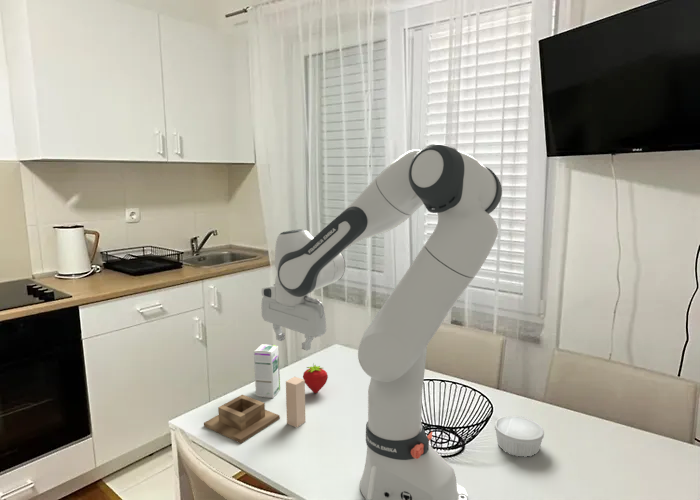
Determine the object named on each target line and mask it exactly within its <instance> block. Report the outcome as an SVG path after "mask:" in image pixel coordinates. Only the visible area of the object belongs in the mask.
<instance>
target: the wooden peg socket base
mask: <svg viewBox="0 0 700 500" xmlns="http://www.w3.org/2000/svg"><path fill="white" fill-rule="evenodd" d="M265 407H266V405H265V402H262V400H257V399H255V398H252V397H251V396H247V395H244V394H241V395H239V396H236V397H235V398H233V399H231V400H229V401H228V402H226V403H224V404H222V405H220V406H218V407H217V408H218V409H217V410H218V415H215V416H213V417H212V418H210V419H208V420H207V421H205V422H203V427H204V428H206V429H209V430H211V431H213V432H215V433H217V434H219V435H222V436H224V437H226V438H229V439H231V440H233V441H235V442H237V443H238V444H243V443H244V442H246V441H248V440H249V439H250V438H252V437H254V436H255V435H257V434H258V433H260V432H261V431H263V430H265V429H266V428H267V427H270V426H271V425H272V424H273V423H276V422H277V421H279V420H280V418H281V416H280V414H277V413H275V412H272V411H270V410H267V409H266V408H265Z"/></svg>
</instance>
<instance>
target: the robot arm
mask: <svg viewBox="0 0 700 500" xmlns="http://www.w3.org/2000/svg"><path fill="white" fill-rule="evenodd" d="M502 189H503V188H502V184H501V181H500V179H499V177H498V175H496V173H495V172H493V170H492V169H491V168H489V167H487V166H485V165H484V164H482V162H480V161H478V160H477V159H476V158H475V157H473V156H472V155H469V154H467V153H466V152H464V151H460V150H457V148H455V147H453V146H451V145H447V144H441V143H435V144H429V145H426V146H424V147H422V148H421V149H411V150H408V151H407V152H405V153H404V154H402V155H400V156H399V157H398V158H397V159H395V160H394V161H393V162H391V163H390V164H389V165H388V166H386V168H385V169H383V170H382V171H381V172H380V173H379V174H378V175H377V176H376V177H375V178H374V179H373V180H372V181H371V182H370V183H369V184H368V186H367V187H366V188H364V189H363V191H362V192H361V193H360V194H359V195H358V196H357V197H356V198H355V199H354V200H353V201H352V202H350V204H349V205H348V206H347V207H346V208H345V209H344V210H342V212H341V213H340V214H339V215H338V216H337V217H335V218H334V219H333V220H332V221H331V222H330V223H328V224H327V226H325V227H324V228H323V229H322V230H321V231H320V232H318V233H317V234H316V235H315V236H313V235H312V234H311V233H310V232H309V230H306V229H303V228H302V229H293V230H292V229H291V230H287V231H283V232H280V234H278V236H277V238H276V240H275V241H276V243H275V248H274V250H275V251H274V266H275V270H276V276H275V279H274V283H275V284H272V285H267V286H265V287H263V288H261V296H263V297H262V298H261V309H260V310H261V317H262V319H263V321H264V322H266V323H270V324H272V329H273V330H274V333H275V338H276V341H279V342H282V341H284V340H285V338H286V337H285V335H286V334H285V332H283V330H282V328H286V329H289V330H291V331H295V332H297V333H300V334H303V335H304V339H305V341H304V342H301V350H304V351H309V350H311V349H312V348H311V345H312V342H313V340H314V338H319V337H321V336H323V335H325V333H326V332H327V320H326V319H327V318H326V313H325V306H324V304H323V303H322V302H321V300H320V299H319V298H313V297H312V296H311V293H313V292H314V291H317V290H319V289H321V288H324V287H326V286H330V285H332V284H334V283H336V282H338V281H339V280H341V279H342V277H343V276H344V274H345V272H346V261H345V257H344V255H343V254H342V253H344V251H346V250H347V249H349V247H351V246H353V245H355V244H357V243H359V242H361V241H364V240H366V239H369V238H372V237H377V236H380V235H382V234H385V233H388V232H390V231H392V230H393V229H395V228H397V227H398V226H400V225H402V223H404V222H405V221H406V220H408V219H409V218H410V217H411V216H413V214H415V212H417V211H418V209H420V208H421V207H422V206H423V205H424V207H425V208H426V209H427V211H428V212H429V213H432V214H437V224H436V227H435V229H434V230H433V232H431V235H430V236H429V237H428V239H427V241H425V243H424V245H423V247H422V248H421V249H420V251H419V252H418V253H417V255H416V256H415V258H414V260H413V262H412V263H411V265H410V266H409V268H408V269H407V270H406V272H405V273H404V275H403V276H402V278H401V279H400V280H399V282H398V284H397V285H396V286H395V288H393V290H392V292H391V293H390V295H389V296H388V297H387V299H386V300H385V302H384V303H383V305H382V306H381V308H380V309H379V310H378V312H377V313H376V315H375V316H374V317H373V319H372V320H371V322H369V323H370V324H369V325H368V326H367V328H366V329H365V331H364V332H363V334H362V336H361V339H360V341H359V342H360V343H359V346H358V350H357V359H358V363H359V365H360V367H361V369H362V370H363V372H364V373H365V374H366V375H367V376H368V377H370V381H369V384H368V389H367V391H368V393H367V395H368V396H367V421H366V425H365V443H366V446H367V447H366V457H365V464H364V469H363V471H362V472H363V473H362V477H361V479H360V482H359V489H360V493H361V494H362V496H363V497H364V499H365V500H469V498H468V497H469V496H468V492H467V489H466V488H465V487H463V486H462V485H460V484H458V483H457V476H456V473H455V470H454V468H453V467H452V465H451V464H450V463H448V462H447V460H446V459H444V458H443V457H442V456H441V455H440V454H439V453H438V452H437V451H436V450H435V449H434V447H432V446H431V445H430V441H431V440H432V438H433V431H430V432H429V434H428V435H427V434H426V432H425V429H424V426H423V424H422V411H423V409H422V408H423V407H422V406H423V388H424V380H425V379H424V378H425V371H426V361H427V360H426V359H427V349H428V344H429V343H430V342H431V341H432V339H433V337H434V335H435V334H436V333H437V331H438V330H439V329H440V327H441V325H442V324H443V322H444V321H445V319H446V318H447V316H448V315H449V313H450V312H451V310H452V309H453V308H454V306H455V305H456V303H457V302H458V300H459V299H460V298H461V297H462V295H463V294H464V292H465V290H466V289H467V288H468V286H469V285H470V283H472V281H473V280H474V278H476V275H477V274H478V273H479V271H480V270H481V269H482V266H483V265H484V264H485V262H486V260H487V258H488V257H489V254H490V252H491V250H492V249H493V246H494V244H495V242H496V240H497V237H498V234H499V233H498V232H499V231H498V225H497V222H496V221H495V219H494V218H493V216H491V213H492V212H494V211H495V209H496V208H497V207H498V206H499V203H500V202H501V199H502V195H503V190H502Z"/></svg>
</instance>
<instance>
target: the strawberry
mask: <svg viewBox="0 0 700 500" xmlns="http://www.w3.org/2000/svg"><path fill="white" fill-rule="evenodd" d="M328 378H329V375H328V372H327V371H326V370H324V368H323V367H321V365H316V364H315V363H314V362H313V364H312V366H306V370H305V371H304V372H303V376H302V379H304V380H305V386H306V387H308V388H309V390H311V392H312V393H314V394H317V393H319V392H320V390H321V389H323V387H324V386H325V384H326V383H327V381H328Z"/></svg>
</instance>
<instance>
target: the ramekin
mask: <svg viewBox="0 0 700 500" xmlns="http://www.w3.org/2000/svg"><path fill="white" fill-rule="evenodd" d="M494 430H495V433H496V434H495V436H496V441H497V444H498V447H500V448H502V449H503V450H502V449H501V450H502V451H504V452H505V451H506V452H508V453H510V454H509V455H511V454H512V455H511V456H514V455H516V456H515V457H518V456H524V457H523V458H528V457H527V456H530V457H533V456H534V454H535V455H536V454H537V453H538V452H539V450H540V448H541V444H542V441H543V439H544V436H545V430H544V428H543V427H542V425H541V424H539V423H538V422H536V421H534V420H532V419H531V418H527V417H525V416H519V415H505V416H501V417H499V418H497V419H496V421H494ZM506 452H505V453H506ZM508 453H507V454H508ZM532 455H533V456H532Z"/></svg>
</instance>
